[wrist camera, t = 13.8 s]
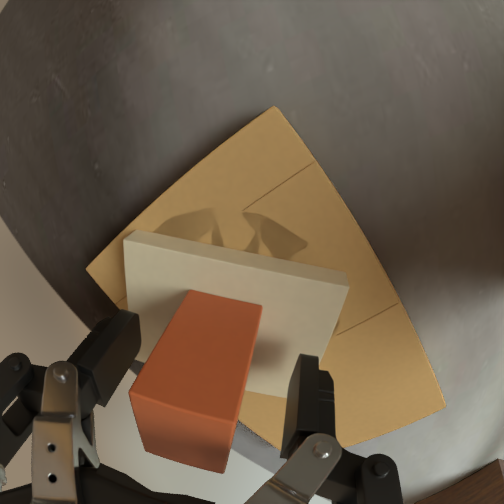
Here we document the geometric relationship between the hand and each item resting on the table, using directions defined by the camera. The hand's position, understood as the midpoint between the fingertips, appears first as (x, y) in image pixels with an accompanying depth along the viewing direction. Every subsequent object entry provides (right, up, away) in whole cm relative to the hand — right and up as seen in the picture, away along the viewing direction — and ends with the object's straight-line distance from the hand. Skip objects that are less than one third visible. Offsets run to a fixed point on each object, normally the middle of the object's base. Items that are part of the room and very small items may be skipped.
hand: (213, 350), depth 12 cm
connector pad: (+1, +1, +3) cm, 4 cm away
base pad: (+4, -1, +4) cm, 6 cm away
